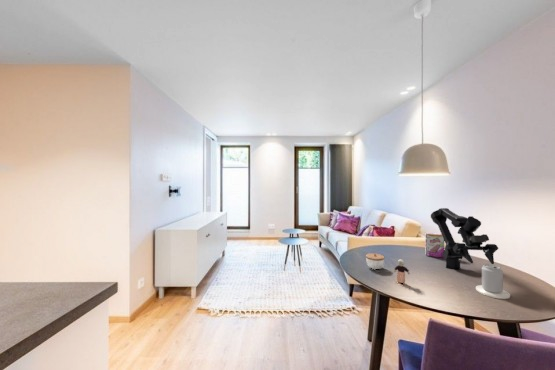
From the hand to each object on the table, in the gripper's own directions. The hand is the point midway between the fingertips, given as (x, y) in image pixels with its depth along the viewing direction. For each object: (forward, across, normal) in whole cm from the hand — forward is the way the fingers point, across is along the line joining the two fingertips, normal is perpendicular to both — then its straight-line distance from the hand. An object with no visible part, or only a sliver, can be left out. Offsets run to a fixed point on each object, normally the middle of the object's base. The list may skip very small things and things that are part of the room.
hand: (482, 263), depth 115 cm
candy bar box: (-26, 0, +44) cm, 51 cm away
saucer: (+13, 0, +4) cm, 14 cm away
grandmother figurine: (+9, -39, +8) cm, 40 cm away
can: (+12, 0, +4) cm, 13 cm away
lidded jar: (-5, -47, +22) cm, 53 cm away
